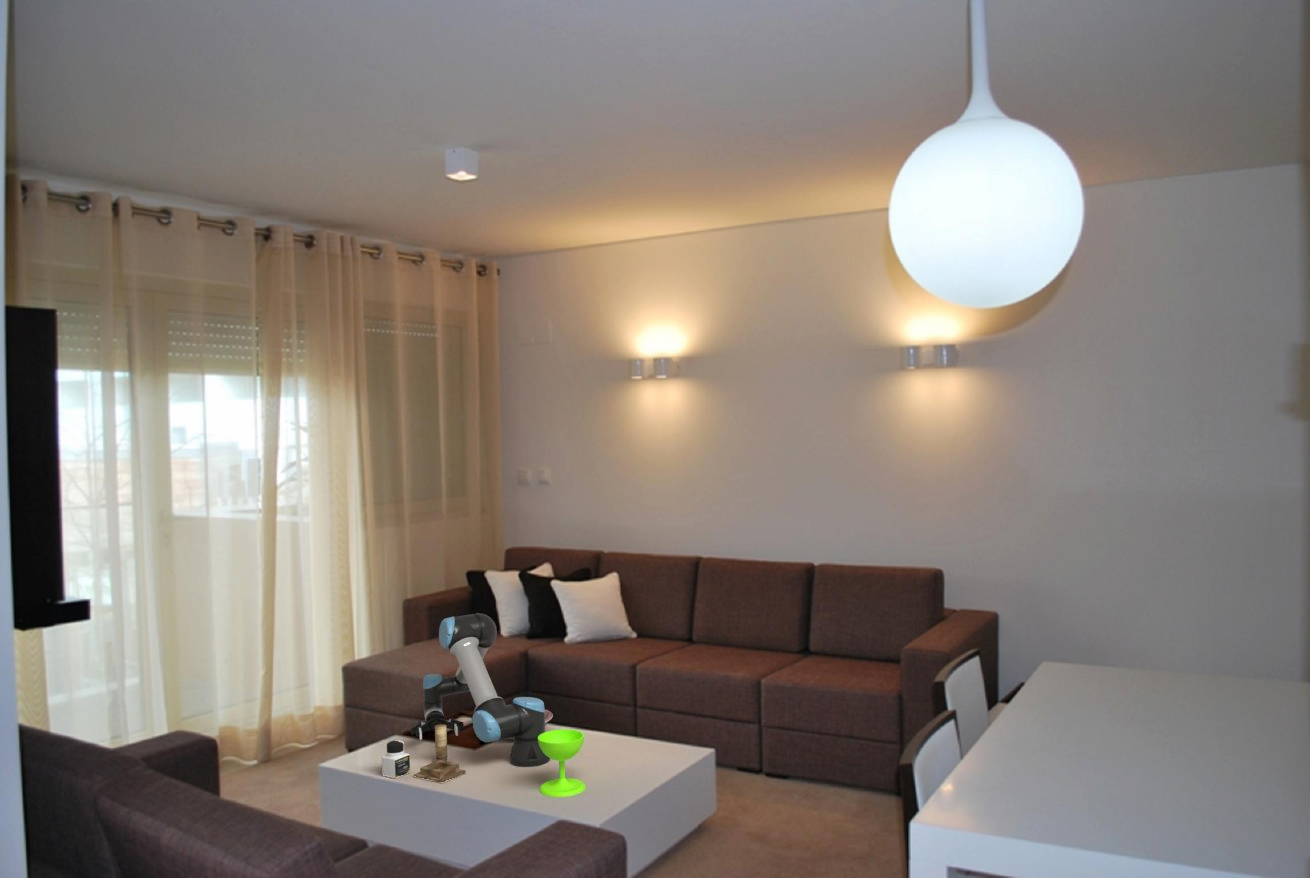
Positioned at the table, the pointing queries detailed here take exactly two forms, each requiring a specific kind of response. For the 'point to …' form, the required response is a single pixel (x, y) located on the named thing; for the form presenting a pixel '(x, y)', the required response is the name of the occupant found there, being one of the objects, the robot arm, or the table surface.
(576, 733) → the wineglass
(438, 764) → the brown stepped square base
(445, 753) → the oak dowel
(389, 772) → the medicine bottle
